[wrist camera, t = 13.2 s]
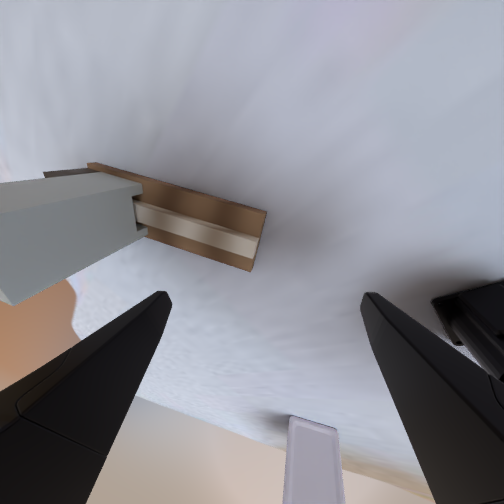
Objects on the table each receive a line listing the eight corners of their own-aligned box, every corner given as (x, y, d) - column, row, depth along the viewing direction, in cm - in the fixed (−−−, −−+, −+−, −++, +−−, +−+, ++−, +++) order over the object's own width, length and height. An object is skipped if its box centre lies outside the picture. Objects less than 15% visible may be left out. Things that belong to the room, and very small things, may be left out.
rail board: (267, 211, 18) (254, 231, 14) (252, 267, 22) (239, 296, 17) (95, 162, 20) (40, 166, 16) (109, 220, 24) (67, 235, 20)
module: (141, 183, 19) (-48, 223, 9) (148, 234, 22) (13, 306, 12) (101, 171, 20) (-119, 196, 10) (113, 222, 23) (-43, 281, 13)
